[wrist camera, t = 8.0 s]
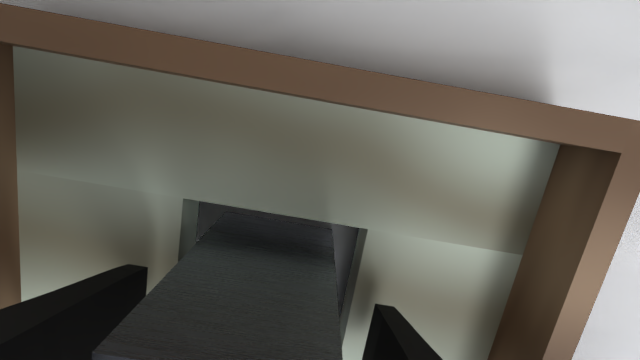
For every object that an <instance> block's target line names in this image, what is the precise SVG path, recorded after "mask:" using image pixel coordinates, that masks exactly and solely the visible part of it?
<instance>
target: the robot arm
mask: <svg viewBox="0 0 640 360" xmlns="http://www.w3.org/2000/svg"><path fill="white" fill-rule="evenodd" d="M147 274H148V267H144V266H138V265H132V264H126V265H123V266H119V267H116V268H113V269H111V270H108V271H105V272H102V273H100V274H97V275H94V276H92V277H89V278H86V279H84V280H81V281H78V282H76V283H73V284H70V285H68V286H65V287H62V288H60V289H57V290H54V291H52V292H49V293H46V294H43V295H40V296H37V297H34V298H32V299H29V300H26V301H23V302H20V303H17V304H14V305H11V306H8V307H5V308H3V309H0V360H92V352H93V351H94V350H95V349H96V348H97V347H98V346H99V345H100V344H101V342H102V341H103V340H104V339H105V338H106V337H107V336H108V335H109V334H110V333H111V332H112V331H113V330H114V329H115V328H116V327H117V326H118V325H119V324H120V323H121V322H122V320H123V319H124V318H125V317H126V316H127V315H128V314H129V313H130V312H131V311H132V310H133V309H134V308H135V307H136V306H137V305H138V304H139V303H140V302H141V301H142V300H143V298H144V297H145V296H146V290H147ZM362 360H443V359H442V358H441V357H440V356H439V355H438V354H437V353H436V352H435V351H434V350H433V349H432V348H431V346H430V345H429V344H428V343H427V342H426V341H425V340H424V339H423V338H422V337H421V336H420V334H419V333H418V332H417V331H416V330H415V329H414V328H413V327H412V325H411V324H410V323H409V322H408V321H407V320H406V319H405V318H404V317H403V315H402V314H401V313H400V312H399V311H398V310H397V309H396V308H395V307H394V306H388V305H381V304H375V306H374V310H373V315H372V319H371V323H370V327H369V331H368V336H367V340H366V344H365V348H364V352H363V357H362Z"/></svg>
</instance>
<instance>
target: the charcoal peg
mask: <svg viewBox="0 0 640 360" xmlns="http://www.w3.org/2000/svg"><path fill="white" fill-rule="evenodd" d="M92 360H343V357H342V345H341V333H340V321H339V309H338V297H337V285H336V273H335V261H334V249H333V237H332V229H326V228H320V227H315V226H309V225H303V224H297V223H291V222H285V221H279V220H273V219H267V218H261V217H255V216H249V215H243V214H237V213H231V212H226V213H225V214H224V215H223V216H222V217H221V218H220V219H219V220H218V221H217V222H216V223H215V224H214V225H213V226H212V227H211V228H210V229H209V230H208V231H207V232H206V234H205V235H204V236H203V237H202V238H201V239H200V240H199V241H198V242H197V243H196V244H195V245H194V246H193V247H192V248H191V249H190V250H189V251H188V252H187V253H186V254H185V256H184V257H183V258H182V259H181V260H180V261H179V262H178V263H177V264H176V265H175V266H174V267H173V268H172V269H171V270H170V271H169V272H168V273H167V274H166V275H165V276H164V278H163V279H162V280H161V281H160V282H159V283H158V284H157V285H156V286H155V287H154V288H153V289H152V290H151V291H150V292H149V293H148V294H147V295H146V296H145V297H144V298H143V300H142V301H141V302H140V303H139V304H138V305H137V306H136V307H135V308H134V309H133V310H132V311H131V312H130V313H129V314H128V315H127V316H126V317H125V318H124V319H123V320H122V322H121V323H120V324H119V325H118V326H117V327H116V328H115V329H114V330H113V331H112V332H111V333H110V334H109V335H108V336H107V337H106V338H105V339H104V340H103V341H102V342H101V344H100V345H99V346H98V347H97V348H96V349H95V350H94V351H93V352H92Z"/></svg>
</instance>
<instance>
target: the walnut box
mask: <svg viewBox="0 0 640 360" xmlns="http://www.w3.org/2000/svg"><path fill="white" fill-rule="evenodd" d="M639 192H640V121H637V120H632V119H627V118H621V117H616V116H610V115H605V114H599V113H594V112H589V111H583V110H578V109H572V108H567V107H561V106H556V105H551V104H545V103H540V102H534V101H529V100H523V99H518V98H513V97H507V96H502V95H496V94H491V93H485V92H480V91H474V90H469V89H464V88H458V87H453V86H447V85H442V84H436V83H431V82H426V81H420V80H415V79H409V78H404V77H398V76H393V75H388V74H382V73H377V72H371V71H366V70H360V69H355V68H350V67H344V66H339V65H333V64H328V63H322V62H317V61H311V60H306V59H301V58H295V57H290V56H284V55H279V54H273V53H268V52H263V51H257V50H252V49H246V48H241V47H235V46H230V45H225V44H219V43H214V42H208V41H203V40H197V39H192V38H187V37H181V36H176V35H170V34H165V33H159V32H154V31H148V30H143V29H138V28H132V27H127V26H121V25H116V24H110V23H105V22H100V21H94V20H89V19H83V18H78V17H72V16H67V15H62V14H56V13H51V12H45V11H40V10H34V9H29V8H24V7H18V6H13V5H7V4H2V3H0V309H3V308H5V307H8V306H11V305H14V304H17V303H20V302H23V301H26V300H29V299H32V298H34V297H37V296H40V295H43V294H46V293H49V292H52V291H54V290H57V289H60V288H62V287H65V286H68V285H70V284H73V283H76V282H78V281H81V280H84V279H86V278H89V277H92V276H94V275H97V274H100V273H102V272H105V271H108V270H111V269H113V268H116V267H119V266H123V265H126V264H132V265H138V266H144V267H148V274H147V290H146V295H147V294H148V293H149V292H150V291H151V290H152V289H153V288H154V287H155V286H156V285H157V284H158V283H159V282H160V281H161V280H162V279H163V278H164V276H165V275H166V274H167V273H168V272H169V271H170V270H171V269H172V268H173V267H174V266H175V265H176V264H177V263H178V262H179V261H180V260H181V259H182V258H183V257H184V256H185V254H186V253H187V252H188V251H189V250H190V249H191V248H192V247H193V246H194V245H195V243H196V232H197V222H198V212H199V201H202V202H208V203H214V204H220V205H226V206H232V207H238V208H244V209H250V210H256V211H262V212H268V213H274V214H280V215H286V216H292V217H298V218H304V219H310V220H316V221H322V222H328V223H334V224H340V225H345V226H351V227H357V228H359V232H358V236H357V241H356V246H355V250H354V255H353V260H352V264H351V269H350V274H349V278H348V283H347V288H346V292H345V297H344V302H343V307H342V311H341V316H340V333H341V345H342V357H343V360H362V357H363V352H364V348H365V344H366V340H367V336H368V331H369V327H370V323H371V319H372V315H373V310H374V306H375V304H381V305H388V306H394V307H395V308H396V309H397V310H398V311H399V312H400V313H401V314H402V315H403V317H404V318H405V319H406V320H407V321H408V322H409V323H410V324H411V325H412V327H413V328H414V329H415V330H416V331H417V332H418V333H419V334H420V336H421V337H422V338H423V339H424V340H425V341H426V342H427V343H428V344H429V345H430V346H431V348H432V349H433V350H434V351H435V352H436V353H437V354H438V355H439V356H440V357H441V358H442V359H443V360H571V359H572V357H573V354H574V352H575V349H576V347H577V345H578V342H579V340H580V337H581V335H582V332H583V330H584V327H585V325H586V322H587V320H588V318H589V315H590V313H591V310H592V308H593V305H594V303H595V300H596V298H597V295H598V293H599V291H600V288H601V286H602V283H603V281H604V278H605V276H606V273H607V271H608V268H609V266H610V264H611V261H612V259H613V256H614V254H615V251H616V249H617V246H618V244H619V241H620V239H621V236H622V234H623V232H624V229H625V227H626V224H627V222H628V219H629V217H630V214H631V212H632V209H633V207H634V205H635V202H636V200H637V197H638V195H639Z"/></svg>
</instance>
